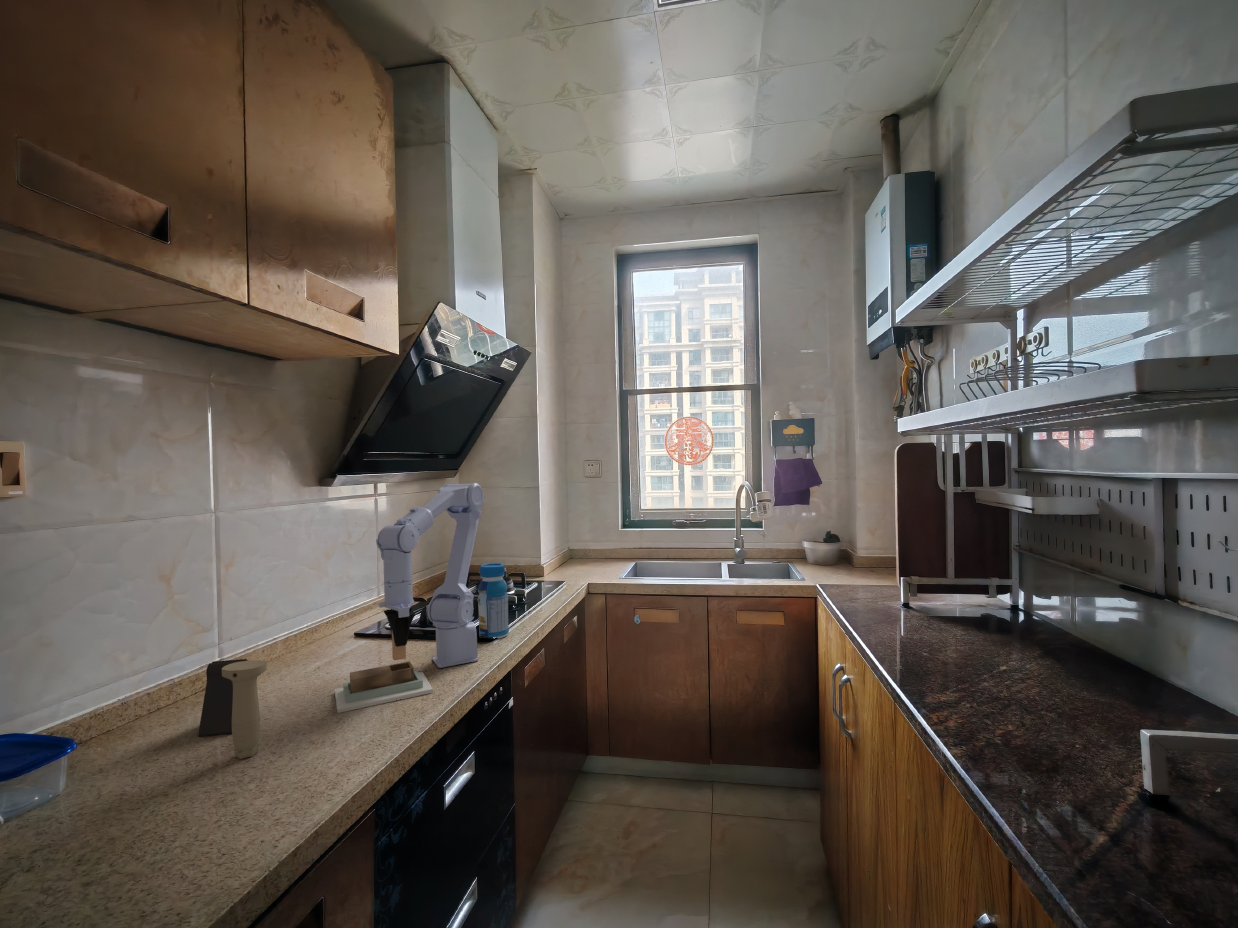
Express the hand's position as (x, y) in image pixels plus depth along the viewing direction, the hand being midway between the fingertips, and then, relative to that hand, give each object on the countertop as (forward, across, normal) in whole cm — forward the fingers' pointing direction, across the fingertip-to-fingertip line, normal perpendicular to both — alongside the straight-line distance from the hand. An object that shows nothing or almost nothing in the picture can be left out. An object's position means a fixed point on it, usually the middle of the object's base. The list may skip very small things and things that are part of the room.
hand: (400, 643), depth 121 cm
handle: (+10, +16, -27) cm, 33 cm away
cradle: (+10, 0, -4) cm, 10 cm away
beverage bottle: (+10, -27, +28) cm, 40 cm away
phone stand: (+10, 0, -31) cm, 32 cm away
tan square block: (+3, 0, 0) cm, 3 cm away
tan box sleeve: (+9, 0, -4) cm, 10 cm away
